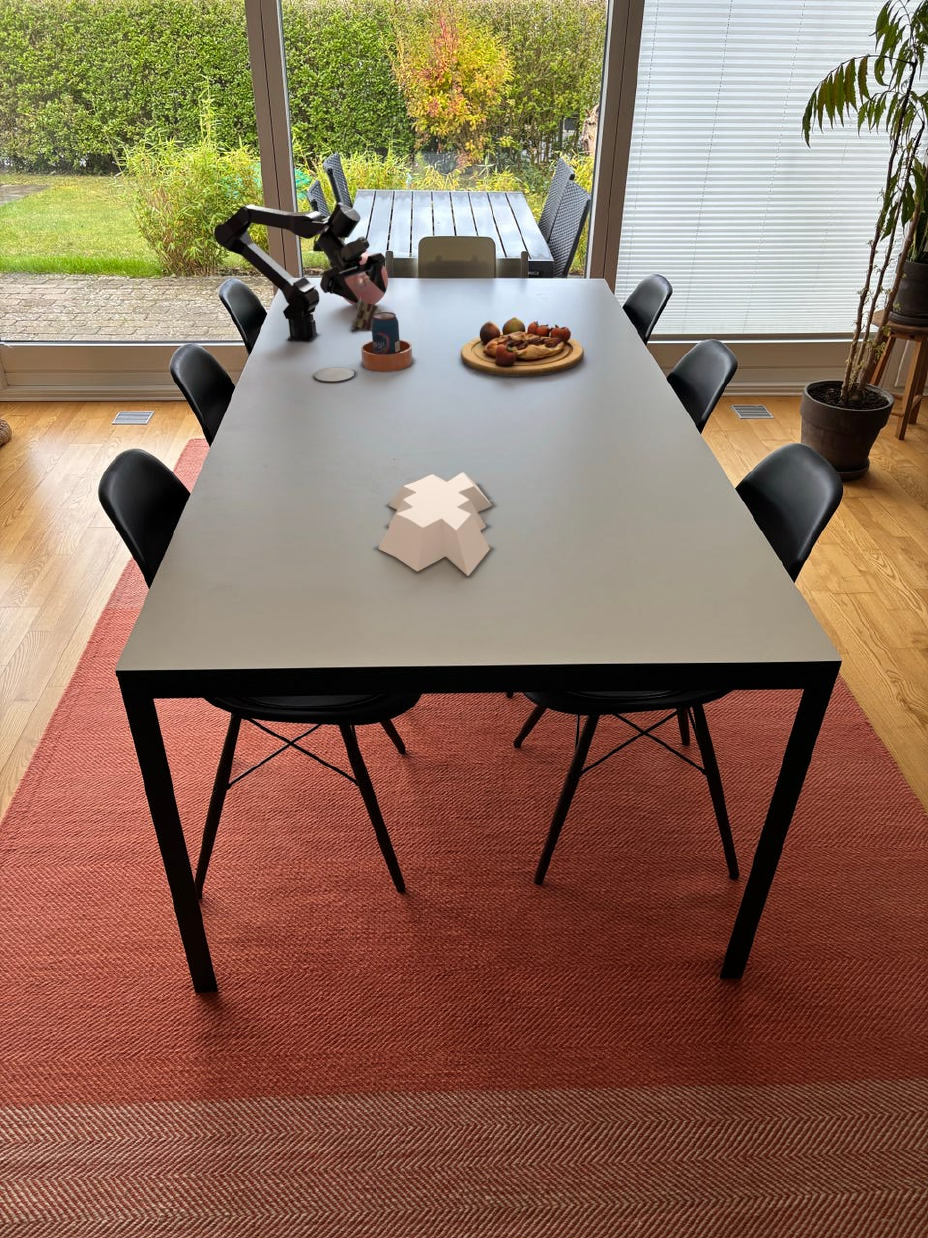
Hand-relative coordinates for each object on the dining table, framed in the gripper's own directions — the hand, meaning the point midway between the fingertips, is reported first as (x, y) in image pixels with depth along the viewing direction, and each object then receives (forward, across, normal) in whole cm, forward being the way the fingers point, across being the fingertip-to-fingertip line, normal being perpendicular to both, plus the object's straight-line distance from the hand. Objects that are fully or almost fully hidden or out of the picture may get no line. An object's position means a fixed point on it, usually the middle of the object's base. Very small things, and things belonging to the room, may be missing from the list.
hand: (371, 296), depth 254 cm
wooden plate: (+35, +23, -5) cm, 42 cm away
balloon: (-18, +21, +34) cm, 44 cm away
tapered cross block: (+74, -53, -43) cm, 101 cm away
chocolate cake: (-7, +12, +25) cm, 29 cm away
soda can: (+15, -4, +6) cm, 17 cm away
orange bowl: (+15, -4, +6) cm, 17 cm away
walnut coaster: (+13, -19, +6) cm, 24 cm away
